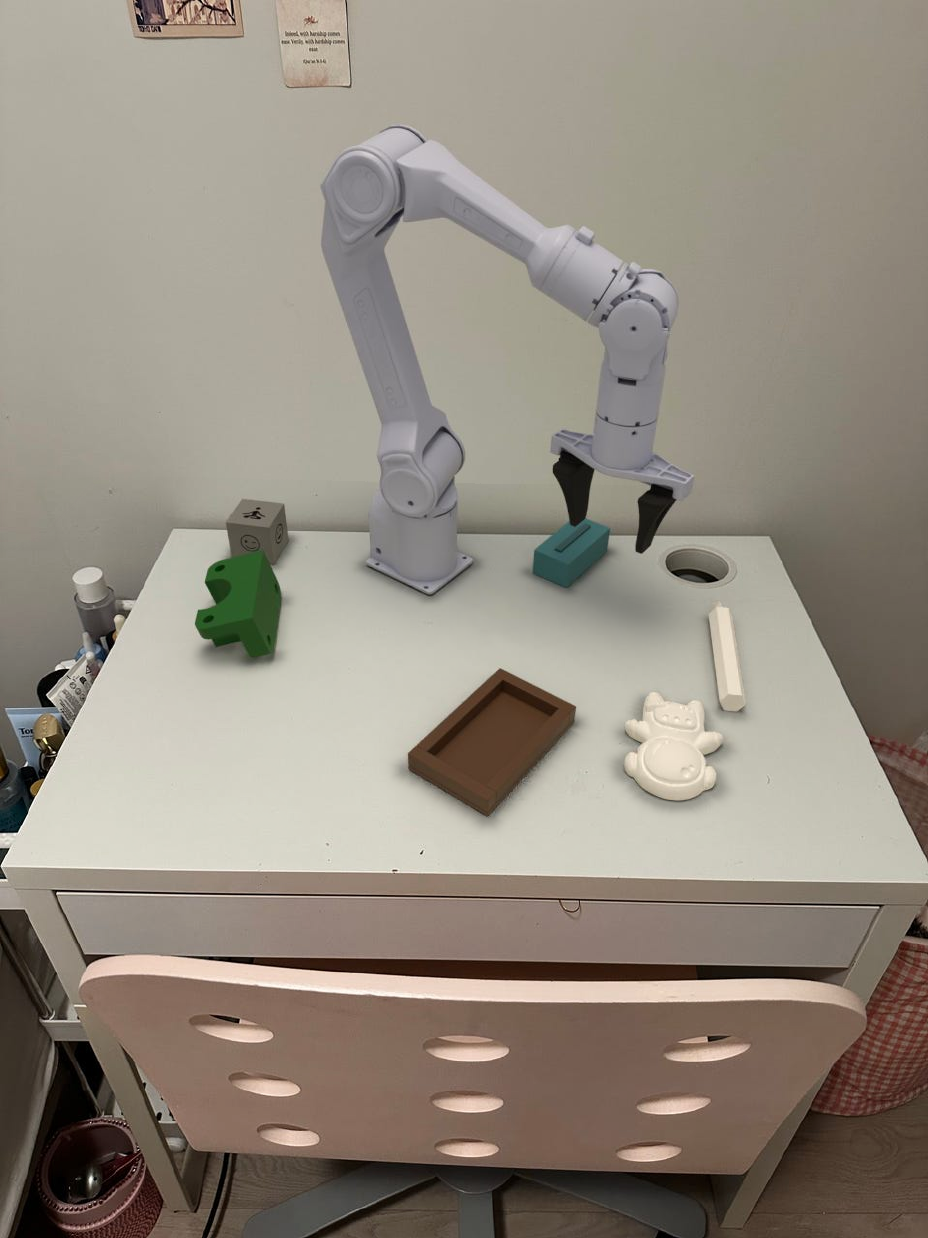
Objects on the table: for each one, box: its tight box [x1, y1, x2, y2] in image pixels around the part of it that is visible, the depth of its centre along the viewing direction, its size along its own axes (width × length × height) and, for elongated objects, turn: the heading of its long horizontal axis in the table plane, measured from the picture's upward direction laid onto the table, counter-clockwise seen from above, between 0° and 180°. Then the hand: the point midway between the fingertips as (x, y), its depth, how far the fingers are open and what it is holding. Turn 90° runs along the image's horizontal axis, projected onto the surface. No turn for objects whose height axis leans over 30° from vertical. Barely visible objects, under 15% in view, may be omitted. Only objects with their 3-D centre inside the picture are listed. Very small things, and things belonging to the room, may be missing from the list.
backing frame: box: [407, 668, 577, 817], centre depth 83 cm, size 14×9×2 cm, turn 143°
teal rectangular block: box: [532, 517, 611, 588], centre depth 105 cm, size 9×4×4 cm, turn 143°
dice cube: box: [225, 498, 290, 565], centre depth 106 cm, size 5×5×5 cm
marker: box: [708, 599, 747, 712], centre depth 93 cm, size 3×2×16 cm
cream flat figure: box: [623, 691, 724, 801], centre depth 83 cm, size 9×12×3 cm
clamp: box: [194, 550, 282, 659], centre depth 94 cm, size 12×6×9 cm, turn 178°
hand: (609, 534), depth 94 cm, fingers open, 7 cm apart
